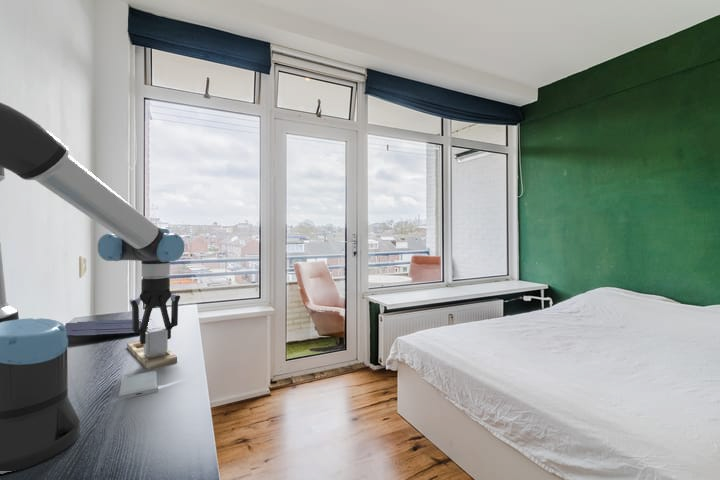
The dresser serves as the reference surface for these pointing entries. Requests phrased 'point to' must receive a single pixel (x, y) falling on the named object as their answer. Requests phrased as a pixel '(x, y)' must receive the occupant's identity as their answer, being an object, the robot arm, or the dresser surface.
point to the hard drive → (138, 385)
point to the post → (156, 343)
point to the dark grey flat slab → (100, 327)
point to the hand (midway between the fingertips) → (155, 351)
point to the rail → (138, 352)
